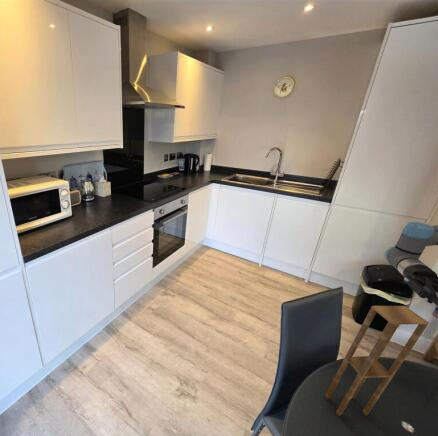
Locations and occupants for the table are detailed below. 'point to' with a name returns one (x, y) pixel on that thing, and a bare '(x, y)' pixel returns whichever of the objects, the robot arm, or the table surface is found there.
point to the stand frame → (371, 363)
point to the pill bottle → (435, 313)
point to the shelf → (399, 315)
